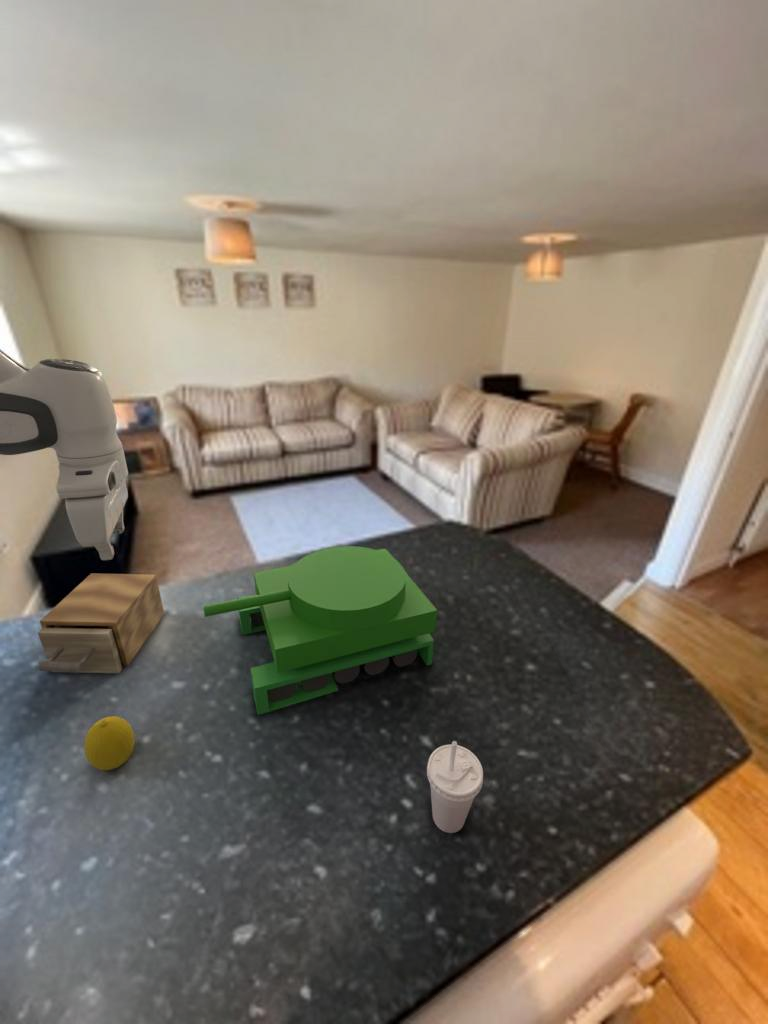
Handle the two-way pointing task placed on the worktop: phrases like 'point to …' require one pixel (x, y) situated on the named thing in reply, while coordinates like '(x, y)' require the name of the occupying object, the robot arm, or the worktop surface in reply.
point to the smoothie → (453, 785)
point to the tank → (332, 622)
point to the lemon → (109, 743)
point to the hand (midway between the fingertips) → (113, 544)
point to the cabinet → (113, 608)
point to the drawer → (80, 649)
